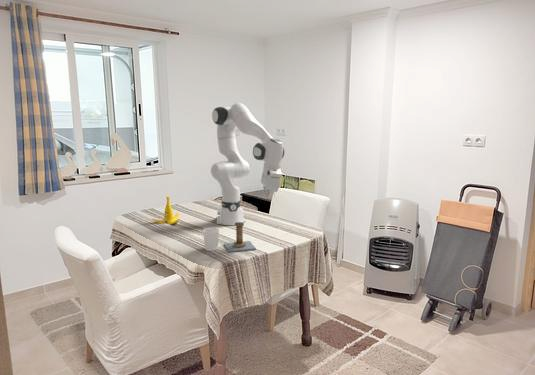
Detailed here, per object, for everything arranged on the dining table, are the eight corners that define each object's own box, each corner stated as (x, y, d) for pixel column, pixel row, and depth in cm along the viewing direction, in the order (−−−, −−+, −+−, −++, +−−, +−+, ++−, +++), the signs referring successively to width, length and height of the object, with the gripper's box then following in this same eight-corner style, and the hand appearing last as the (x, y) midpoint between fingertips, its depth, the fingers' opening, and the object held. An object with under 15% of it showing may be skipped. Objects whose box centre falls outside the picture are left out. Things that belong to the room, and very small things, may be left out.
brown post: (232, 244, 204) (232, 222, 202) (243, 243, 206) (243, 221, 204) (235, 248, 199) (234, 225, 196) (246, 247, 201) (246, 224, 198)
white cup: (207, 245, 205) (207, 227, 203) (221, 247, 203) (221, 228, 201) (201, 250, 198) (200, 231, 196) (215, 252, 195) (214, 232, 193)
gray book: (223, 244, 206) (223, 243, 206) (249, 242, 210) (249, 240, 210) (228, 252, 195) (228, 251, 195) (255, 249, 199) (255, 248, 199)
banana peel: (177, 226, 240) (176, 199, 237) (150, 223, 246) (149, 197, 243) (190, 219, 255) (190, 194, 252) (165, 216, 261) (164, 192, 258)
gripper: (260, 165, 213) (256, 190, 216) (271, 174, 194) (267, 200, 197) (271, 166, 215) (267, 191, 218) (283, 175, 196) (278, 201, 199)
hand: (267, 195), depth 208 cm, fingers open, 8 cm apart
